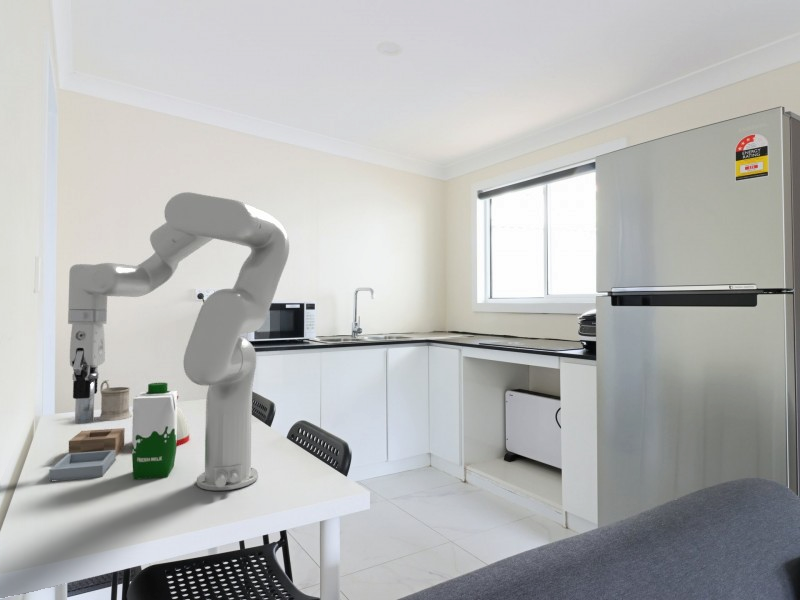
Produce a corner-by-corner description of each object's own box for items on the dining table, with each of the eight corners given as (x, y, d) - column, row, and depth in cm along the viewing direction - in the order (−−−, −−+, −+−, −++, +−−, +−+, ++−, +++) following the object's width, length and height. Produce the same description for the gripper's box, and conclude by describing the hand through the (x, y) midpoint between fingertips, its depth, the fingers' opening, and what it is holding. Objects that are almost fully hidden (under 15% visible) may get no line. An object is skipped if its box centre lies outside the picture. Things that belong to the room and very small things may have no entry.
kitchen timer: (135, 439, 136) (136, 386, 136) (187, 433, 142) (188, 383, 142) (132, 452, 123) (134, 394, 124) (190, 445, 130) (191, 391, 130)
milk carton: (178, 465, 113) (180, 381, 114) (171, 478, 105) (172, 387, 105) (138, 468, 111) (139, 382, 111) (126, 481, 102) (128, 389, 103)
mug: (137, 416, 163) (138, 381, 163) (107, 422, 155) (108, 385, 155) (115, 411, 171) (116, 378, 171) (85, 416, 162) (86, 381, 163)
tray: (102, 476, 105) (102, 465, 105) (49, 481, 102) (49, 469, 102) (115, 460, 117) (115, 449, 117) (68, 464, 113) (68, 453, 113)
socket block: (115, 457, 118) (115, 437, 118) (68, 461, 115) (68, 441, 115) (124, 446, 128) (124, 428, 128) (81, 449, 125) (81, 430, 125)
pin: (93, 423, 108) (95, 374, 108) (68, 425, 106) (69, 375, 107) (99, 418, 113) (101, 371, 113) (75, 420, 111) (76, 372, 111)
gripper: (95, 318, 103) (93, 402, 103) (115, 316, 119) (112, 389, 119) (55, 318, 101) (52, 404, 100) (80, 316, 117) (78, 390, 117)
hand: (85, 395), depth 110 cm, fingers closed on pin, 4 cm apart
